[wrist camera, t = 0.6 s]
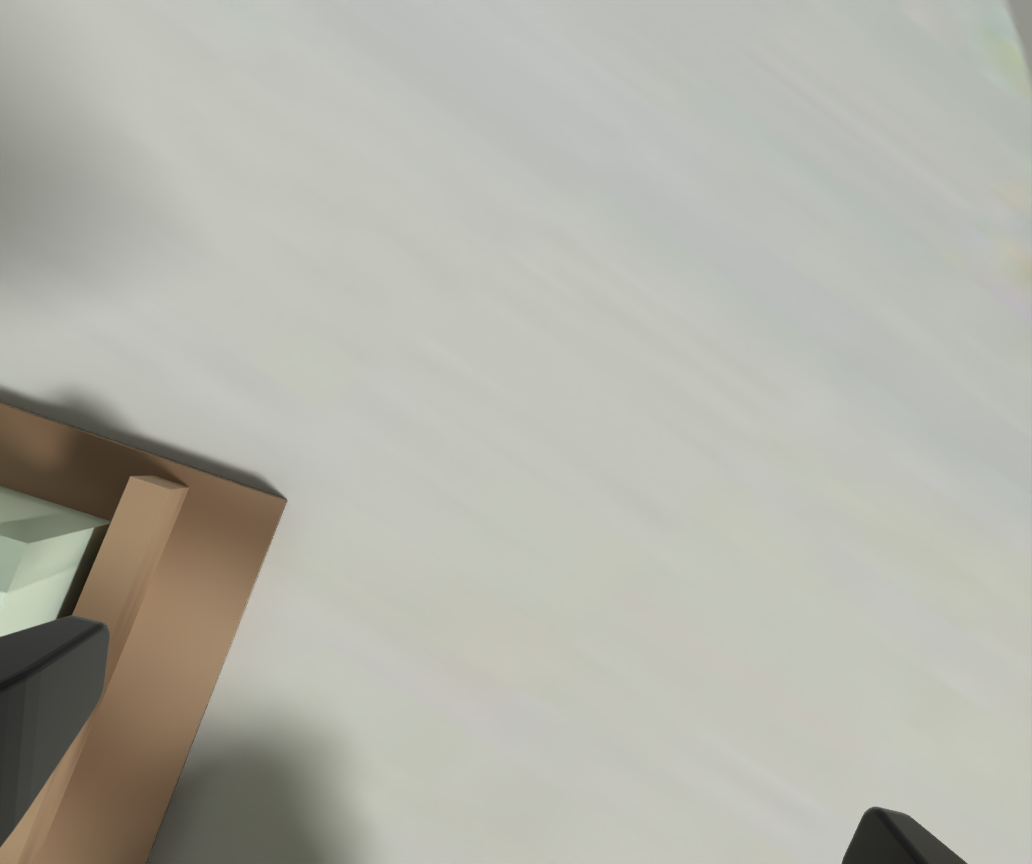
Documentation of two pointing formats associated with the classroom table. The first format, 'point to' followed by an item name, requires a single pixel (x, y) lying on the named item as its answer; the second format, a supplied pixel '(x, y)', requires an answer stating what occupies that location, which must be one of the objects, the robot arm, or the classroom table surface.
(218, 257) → the classroom table surface
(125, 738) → the wooden serving tray
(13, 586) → the sage green bevelled box
